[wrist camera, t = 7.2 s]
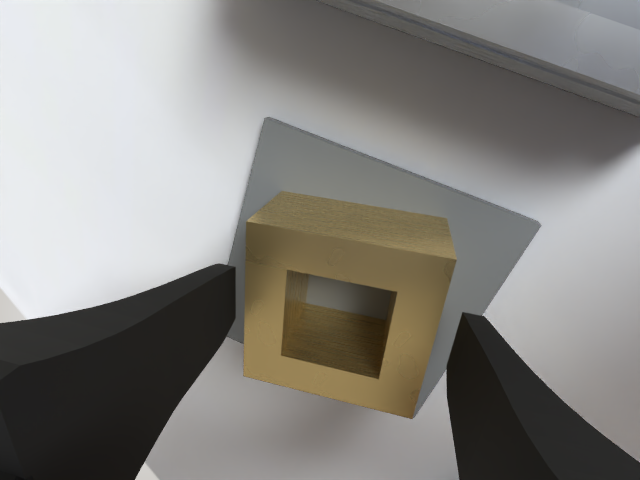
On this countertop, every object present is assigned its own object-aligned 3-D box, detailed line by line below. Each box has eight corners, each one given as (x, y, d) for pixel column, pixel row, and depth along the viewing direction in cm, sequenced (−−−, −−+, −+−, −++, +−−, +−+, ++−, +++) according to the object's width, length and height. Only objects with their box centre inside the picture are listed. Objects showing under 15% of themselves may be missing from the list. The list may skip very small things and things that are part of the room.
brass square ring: (447, 217, 12) (456, 259, 9) (412, 353, 14) (412, 419, 11) (281, 190, 13) (246, 221, 10) (274, 322, 15) (243, 375, 12)
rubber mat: (537, 221, 12) (541, 225, 11) (414, 410, 15) (414, 418, 15) (269, 117, 12) (264, 118, 12) (216, 324, 16) (211, 330, 16)
